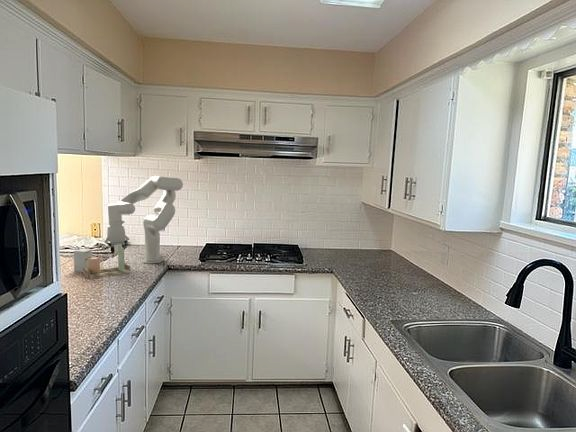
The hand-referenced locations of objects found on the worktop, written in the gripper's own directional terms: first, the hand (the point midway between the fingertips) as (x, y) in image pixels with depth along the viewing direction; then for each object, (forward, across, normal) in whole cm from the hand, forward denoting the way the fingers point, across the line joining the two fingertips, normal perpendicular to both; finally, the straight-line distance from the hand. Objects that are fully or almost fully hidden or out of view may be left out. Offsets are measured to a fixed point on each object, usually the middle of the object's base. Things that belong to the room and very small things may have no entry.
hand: (117, 251), depth 256 cm
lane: (+9, +10, +10) cm, 17 cm away
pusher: (+10, +1, +10) cm, 14 cm away
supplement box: (+9, +20, -4) cm, 22 cm away
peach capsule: (+9, +17, +10) cm, 22 cm away
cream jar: (+1, 0, 0) cm, 1 cm away
